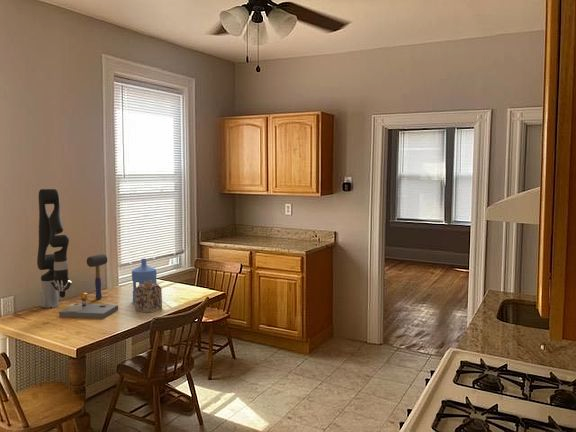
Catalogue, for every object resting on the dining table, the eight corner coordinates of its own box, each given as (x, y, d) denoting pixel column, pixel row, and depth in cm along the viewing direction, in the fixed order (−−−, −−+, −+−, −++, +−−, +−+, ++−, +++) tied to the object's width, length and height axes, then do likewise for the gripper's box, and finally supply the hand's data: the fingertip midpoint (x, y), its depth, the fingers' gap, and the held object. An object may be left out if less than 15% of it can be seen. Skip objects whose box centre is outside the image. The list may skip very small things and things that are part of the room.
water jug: (154, 296, 343) (153, 256, 340) (159, 302, 329) (158, 260, 326) (131, 299, 336) (129, 258, 334) (134, 305, 322) (133, 262, 320)
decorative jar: (162, 308, 314) (161, 280, 312) (149, 313, 304) (148, 284, 302) (148, 306, 319) (147, 278, 318) (134, 311, 309) (133, 282, 307)
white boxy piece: (68, 311, 298) (68, 305, 298) (72, 309, 303) (72, 303, 303) (77, 311, 298) (77, 305, 297) (82, 309, 303) (82, 303, 302)
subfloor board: (59, 316, 298) (58, 311, 298) (75, 308, 316) (75, 303, 315) (103, 318, 294) (103, 313, 294) (118, 309, 312) (118, 305, 312)
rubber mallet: (95, 302, 331) (93, 256, 328) (87, 300, 334) (85, 255, 331) (110, 297, 342) (108, 253, 339) (102, 296, 345) (100, 253, 342)
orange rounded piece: (79, 306, 309) (78, 293, 308) (82, 304, 313) (82, 292, 312) (85, 306, 308) (85, 294, 307) (89, 305, 312) (88, 292, 311)
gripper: (46, 269, 296) (48, 298, 298) (67, 269, 295) (69, 298, 296) (54, 267, 304) (55, 295, 305) (74, 267, 302) (76, 295, 304)
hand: (62, 297), depth 301 cm, fingers closed
